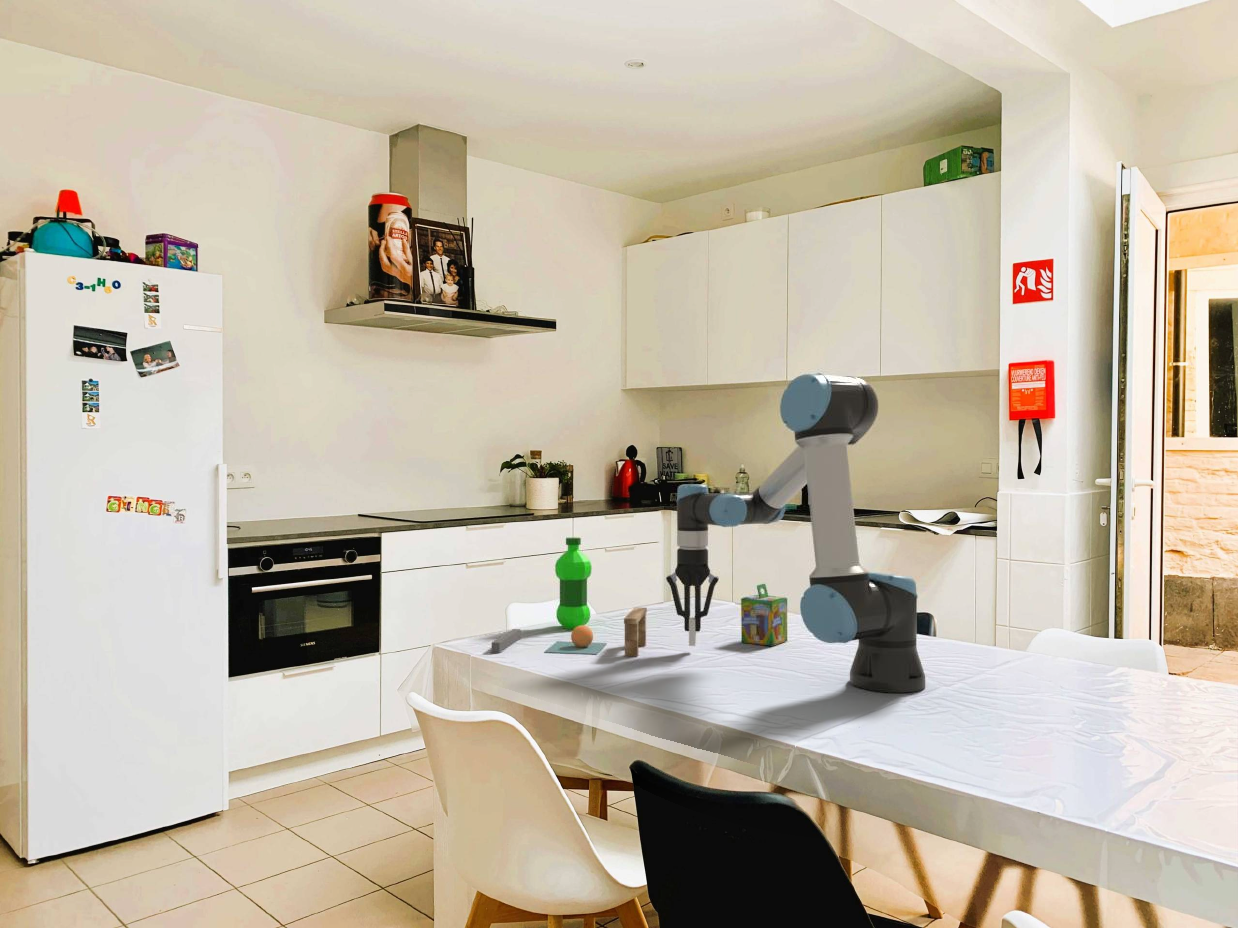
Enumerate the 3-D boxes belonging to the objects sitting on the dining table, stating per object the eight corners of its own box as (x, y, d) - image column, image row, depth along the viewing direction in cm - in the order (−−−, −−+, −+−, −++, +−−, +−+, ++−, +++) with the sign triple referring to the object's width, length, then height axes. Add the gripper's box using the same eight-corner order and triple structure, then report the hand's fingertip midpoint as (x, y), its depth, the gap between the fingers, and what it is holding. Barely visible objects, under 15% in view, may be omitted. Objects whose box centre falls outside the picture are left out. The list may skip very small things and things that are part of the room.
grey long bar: (499, 653, 219) (499, 642, 219) (491, 652, 220) (491, 642, 220) (520, 638, 237) (520, 629, 237) (513, 638, 237) (513, 628, 237)
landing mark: (596, 654, 218) (596, 653, 218) (544, 652, 220) (544, 651, 220) (606, 643, 230) (606, 642, 230) (557, 641, 233) (557, 641, 233)
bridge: (646, 643, 230) (646, 607, 230) (636, 657, 214) (636, 618, 214) (635, 643, 231) (635, 607, 231) (623, 657, 215) (623, 618, 215)
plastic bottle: (598, 626, 255) (598, 537, 255) (577, 632, 246) (577, 540, 246) (569, 622, 260) (569, 535, 260) (547, 628, 251) (547, 538, 251)
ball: (568, 649, 224) (590, 650, 223) (568, 627, 224) (590, 628, 222) (574, 644, 229) (595, 645, 228) (574, 622, 229) (595, 623, 228)
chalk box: (772, 647, 226) (772, 588, 226) (739, 642, 232) (739, 585, 232) (789, 641, 234) (789, 584, 234) (757, 637, 239) (757, 581, 239)
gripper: (720, 546, 222) (720, 642, 223) (667, 545, 225) (667, 640, 225) (718, 549, 215) (718, 648, 215) (663, 548, 217) (663, 646, 217)
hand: (692, 644), depth 220 cm, fingers closed
